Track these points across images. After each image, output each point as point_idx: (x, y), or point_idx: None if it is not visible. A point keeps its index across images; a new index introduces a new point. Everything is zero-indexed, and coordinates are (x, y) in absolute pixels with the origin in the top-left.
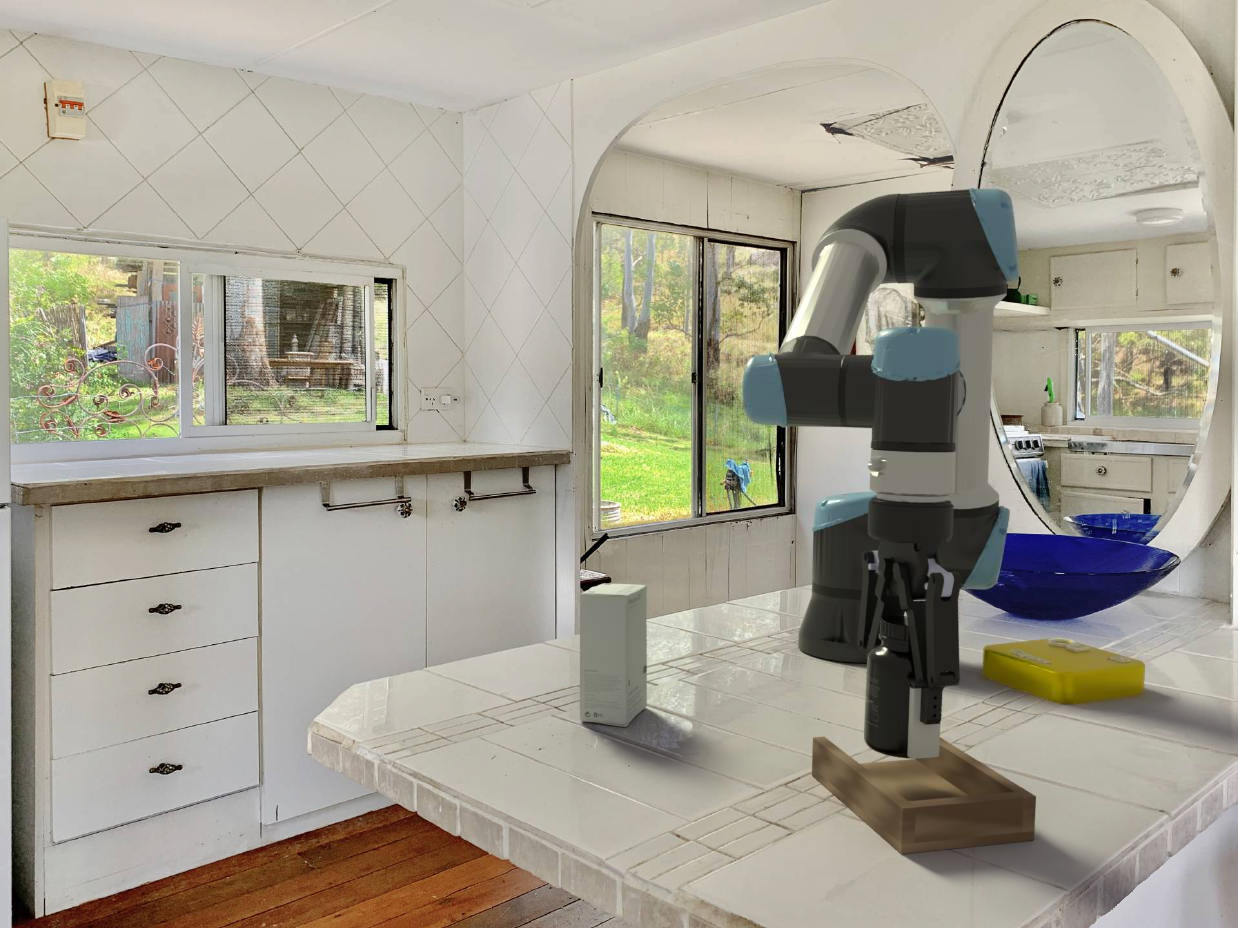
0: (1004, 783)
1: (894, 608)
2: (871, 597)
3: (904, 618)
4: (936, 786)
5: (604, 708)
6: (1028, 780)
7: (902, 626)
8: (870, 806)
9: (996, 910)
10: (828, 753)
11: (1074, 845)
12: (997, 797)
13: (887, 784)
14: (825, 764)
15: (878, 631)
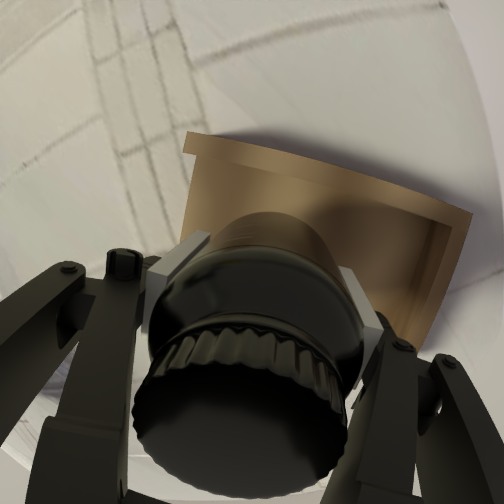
0: (429, 214)
1: (125, 441)
2: (9, 415)
3: (193, 429)
4: (296, 204)
5: None
6: (312, 42)
7: (293, 489)
8: None
9: (483, 347)
10: None
11: (470, 174)
12: (450, 265)
13: None
14: None
15: (130, 396)
